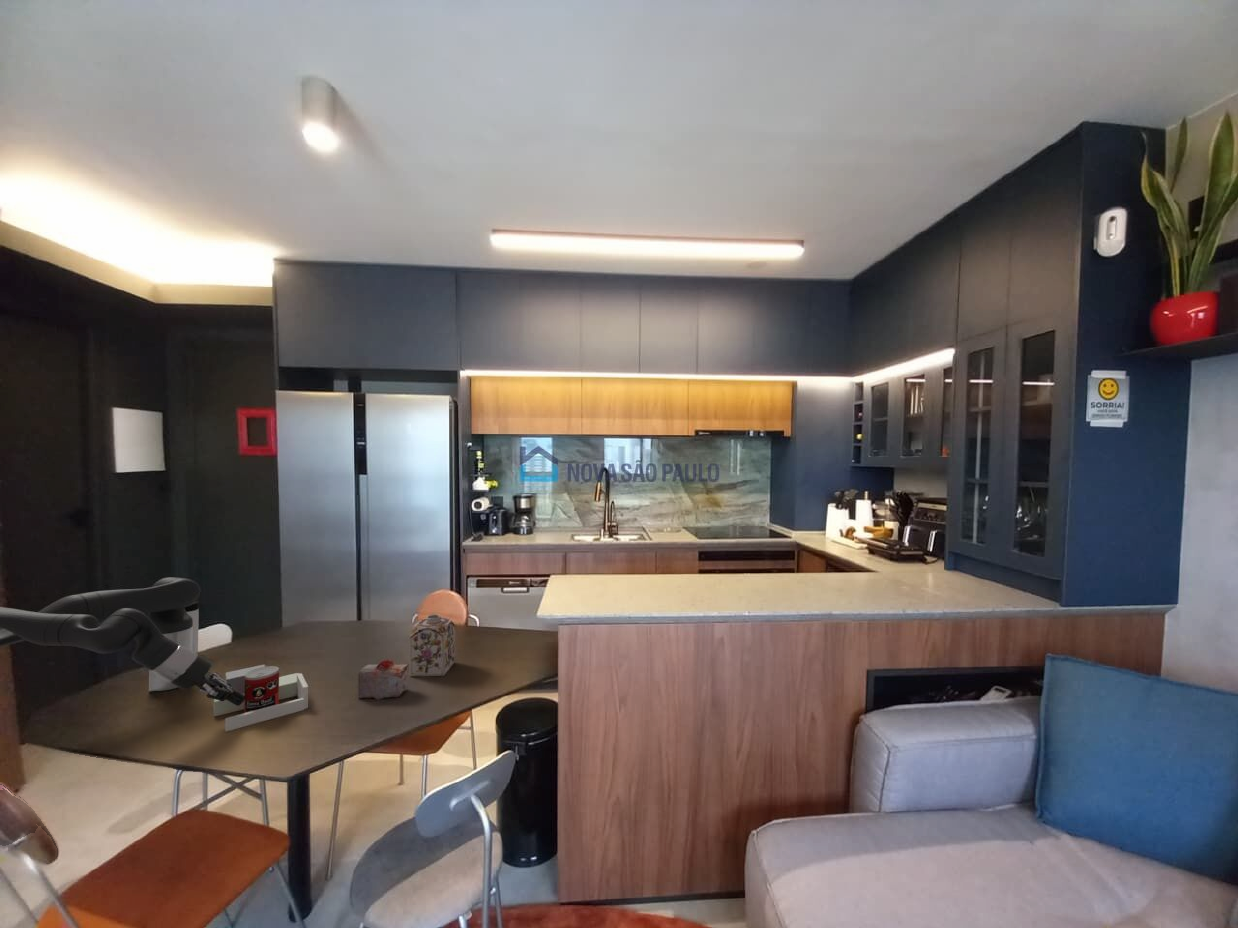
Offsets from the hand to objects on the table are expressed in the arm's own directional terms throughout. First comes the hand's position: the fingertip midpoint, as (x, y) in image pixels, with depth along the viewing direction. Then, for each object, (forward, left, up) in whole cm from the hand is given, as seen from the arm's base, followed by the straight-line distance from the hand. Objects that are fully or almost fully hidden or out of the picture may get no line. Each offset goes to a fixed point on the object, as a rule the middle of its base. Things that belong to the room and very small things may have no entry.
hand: (242, 701), depth 128 cm
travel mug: (-24, +65, -5) cm, 70 cm away
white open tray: (+4, +5, -5) cm, 8 cm away
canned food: (+4, +2, -5) cm, 7 cm away
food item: (+34, -4, -5) cm, 35 cm away
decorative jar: (+50, +7, -5) cm, 51 cm away
